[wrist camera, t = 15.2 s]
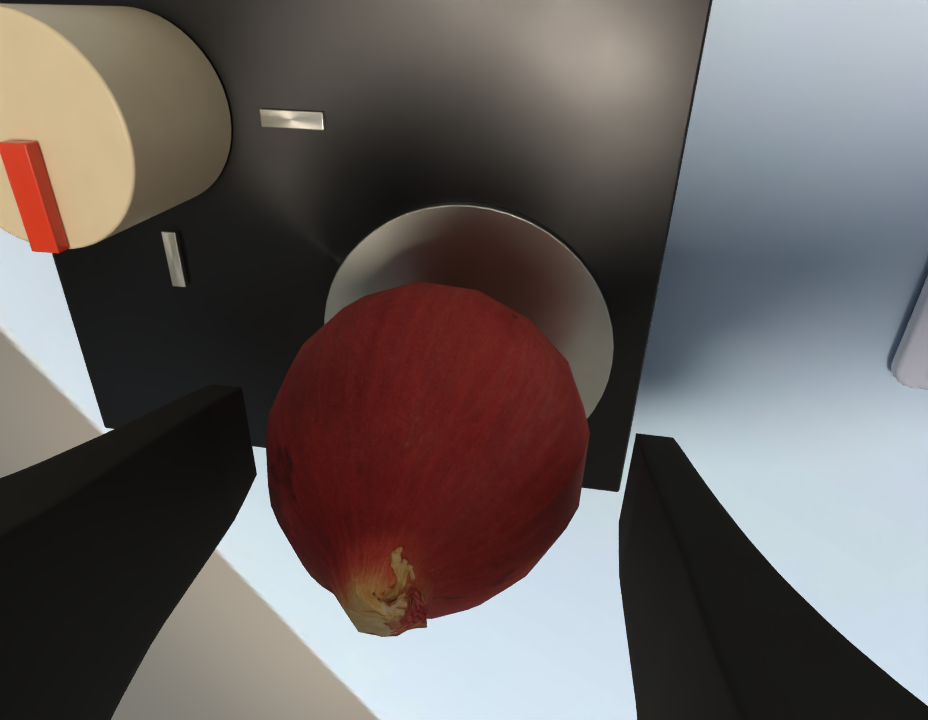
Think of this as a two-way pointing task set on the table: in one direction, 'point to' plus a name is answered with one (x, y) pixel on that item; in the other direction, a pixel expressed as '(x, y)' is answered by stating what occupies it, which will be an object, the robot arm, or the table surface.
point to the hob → (392, 179)
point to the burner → (491, 276)
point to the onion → (424, 453)
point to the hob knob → (101, 121)
